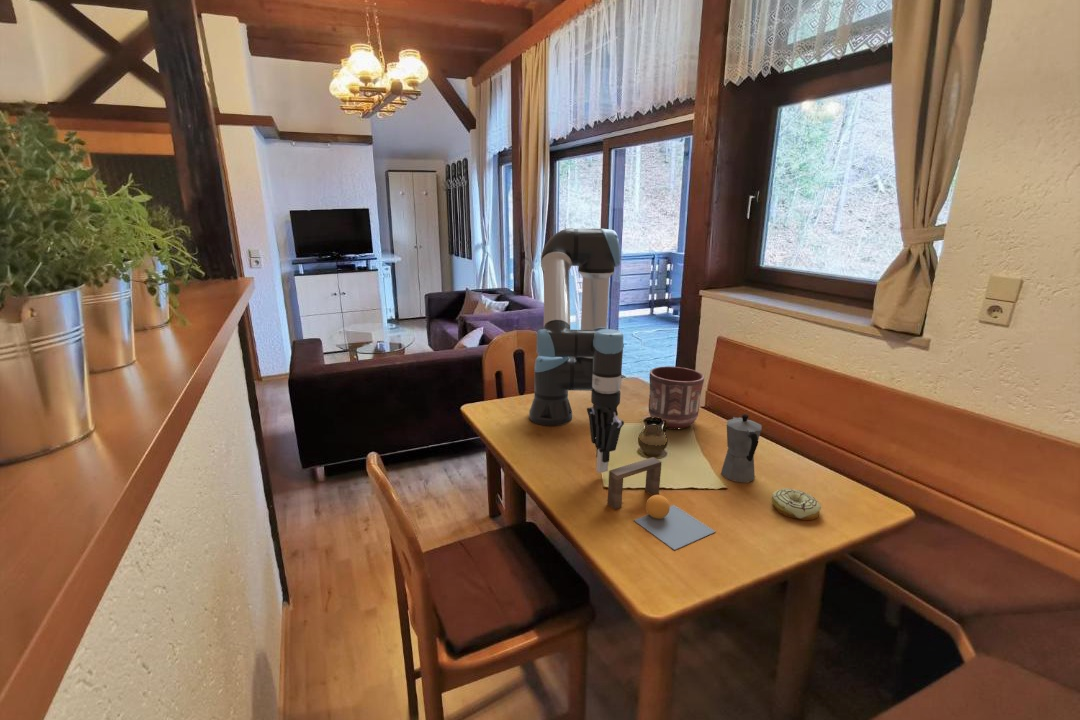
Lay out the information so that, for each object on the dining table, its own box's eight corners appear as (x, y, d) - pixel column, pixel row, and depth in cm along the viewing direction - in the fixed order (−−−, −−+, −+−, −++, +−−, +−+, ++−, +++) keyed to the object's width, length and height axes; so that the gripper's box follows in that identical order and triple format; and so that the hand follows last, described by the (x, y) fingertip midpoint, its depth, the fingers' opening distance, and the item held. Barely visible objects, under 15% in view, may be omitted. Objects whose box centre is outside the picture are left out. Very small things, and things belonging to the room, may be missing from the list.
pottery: (658, 435, 171) (663, 382, 166) (638, 415, 187) (642, 367, 182) (708, 431, 174) (714, 380, 169) (683, 412, 191) (688, 365, 186)
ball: (652, 498, 121) (659, 522, 120) (671, 492, 123) (677, 515, 123) (638, 498, 126) (644, 521, 125) (656, 492, 128) (662, 515, 127)
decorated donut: (804, 528, 122) (806, 513, 121) (762, 507, 130) (764, 493, 129) (827, 514, 127) (829, 500, 126) (786, 494, 136) (788, 481, 135)
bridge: (607, 503, 130) (609, 470, 128) (650, 488, 138) (653, 457, 135) (615, 509, 128) (617, 475, 125) (658, 494, 135) (661, 461, 133)
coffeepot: (713, 463, 152) (719, 405, 147) (745, 464, 152) (753, 406, 147) (731, 490, 137) (739, 427, 132) (767, 491, 137) (776, 427, 132)
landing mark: (633, 520, 123) (634, 520, 123) (673, 505, 130) (673, 504, 130) (674, 550, 113) (674, 549, 113) (715, 532, 119) (715, 531, 119)
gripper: (579, 384, 140) (577, 464, 146) (610, 399, 129) (606, 484, 136) (602, 380, 144) (598, 458, 150) (633, 394, 133) (628, 477, 139)
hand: (602, 470), depth 143 cm, fingers closed
